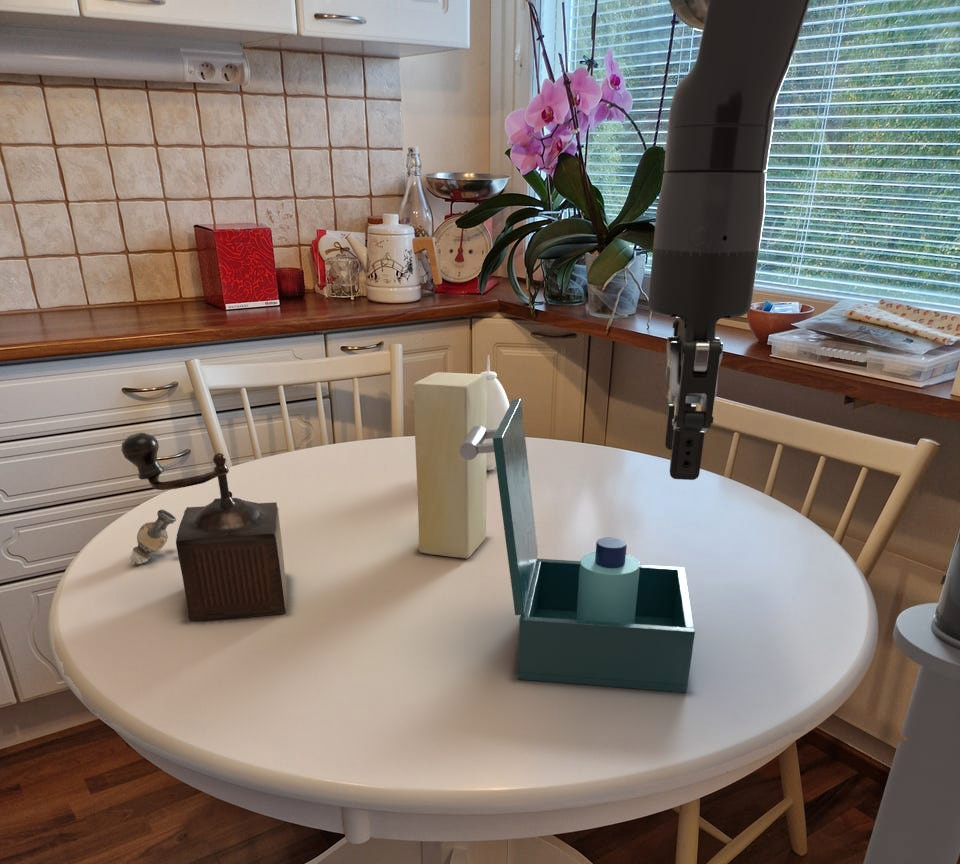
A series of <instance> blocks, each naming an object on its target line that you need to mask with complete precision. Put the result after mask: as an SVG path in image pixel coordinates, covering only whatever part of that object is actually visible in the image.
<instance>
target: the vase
mask: <svg viewBox="0 0 960 864" xmlns="http://www.w3.org/2000/svg"><path fill="white" fill-rule="evenodd" d="M130 518H131V516H130ZM175 522H177V518H176V517H175V516H174V515H173V514H172V513H171V512H169V511H167V510H165V509H159V510H158V511H157V519H156V520H155V521H149V522H145V523H144V524H142V525H141V526H140V528H139V529H138V531H137V535H136V541H137V542H136V543H137V546H135V547H133V548H132V551H131V552H132V553H131V555H130V556H129V557H130V558H131V565H140V564H143V563H147V562H148V561H149V560H150V559H151V553H156V552H158V551H160V550H161V549H163V548H164V547H165V545H166V544H167V542H168V540H169V535H168V531H167V528H168V526H169V525H171V524H174V523H175Z"/></svg>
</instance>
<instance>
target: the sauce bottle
mask: <svg viewBox="0 0 960 864" xmlns="http://www.w3.org/2000/svg"><path fill="white" fill-rule="evenodd" d="M490 361H491V360H490V355H489V354H487V357H486V370H485V371H482V372H480V373H479V374H481V375H486V430H493V429H498V427H499V425H500V423H501V421H502V420H503V418H504V416H505V414H506V412H507V410H508V408H509V406H510V403H509V399H508V396H507V393H506V392H505V389H504V387H503V385H502V383H501V382H500V381H499V380H498V379H497V378H498V373H496V372H495V371H491V363H490ZM487 443H493V438H492V439H486V444H487ZM494 469H496V461H495V453H494V452H491V453H486V471H492V470H494Z"/></svg>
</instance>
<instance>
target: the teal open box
mask: <svg viewBox="0 0 960 864" xmlns="http://www.w3.org/2000/svg"><path fill="white" fill-rule="evenodd" d="M579 570H580V560H567V559H554V558H553V559H551V558H550V559H549V558H537V560H536V564H535V568H534V573H533V577H532V581H531V586H530V590H529V594H528V599H527V603H526V607H525V612H524V615H519V620H518V621H519V624H518V652H517V653H518V657H517V679H518V680H524V681H535V682H536V681H537V682H550V683H559V684H560V683H562V684H575V685H585V686H586V685H588V686H599V687H611V688H612V687H613V688H623V689H625V688H626V689H638V690H649V691H662V692H674V693H687V692H688V685H689V678H690V671H691V664H692V657H693V650H694V644H695V635H696V630H695V624H694V617H693V614H692V613H693V612H692V606H691V600H690V594H689V588H688V581H687V576H686V570H685V567H681V566H667V565H666V566H664V565H649V564H640V571H639V581H638V591H637V600H636V610H635V620H634V624H627V623H613V622H598V621H584V620H576V616H577V601H578V586H579Z"/></svg>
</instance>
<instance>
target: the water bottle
mask: <svg viewBox="0 0 960 864" xmlns="http://www.w3.org/2000/svg"><path fill="white" fill-rule="evenodd" d="M627 548H628V543H627V541H626V540H625V539H622V538H618V537H612V536H611V537H609V536H607V537H601V538H599V539H597V540H596V543H595V552H590V553H587V554H585V555H583V556H582V557H581V558H580V560H579V561H580V570H579V586H578V601H577V616H576V620H584V621H598V622H613V623H627V624H634V620H635V610H636V600H637V591H638V581H639V571H640V565H641V563H640V561H639V560H638V559H637V558H635V556H632V555H629V554H628V553H627Z"/></svg>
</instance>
